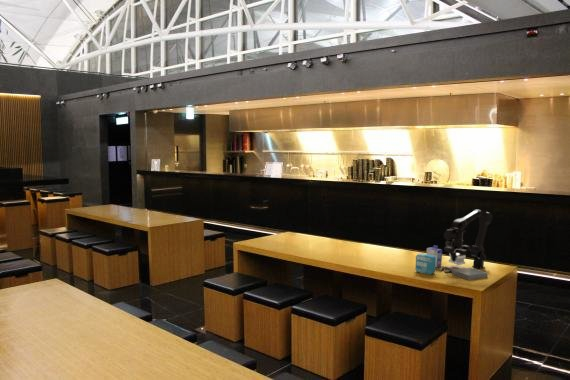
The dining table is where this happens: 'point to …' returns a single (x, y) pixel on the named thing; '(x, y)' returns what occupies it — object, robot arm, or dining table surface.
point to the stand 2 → (469, 273)
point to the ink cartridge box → (436, 253)
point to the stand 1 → (453, 267)
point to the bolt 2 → (448, 271)
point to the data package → (425, 263)
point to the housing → (458, 259)
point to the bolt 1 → (442, 268)
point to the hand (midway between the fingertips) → (457, 261)
